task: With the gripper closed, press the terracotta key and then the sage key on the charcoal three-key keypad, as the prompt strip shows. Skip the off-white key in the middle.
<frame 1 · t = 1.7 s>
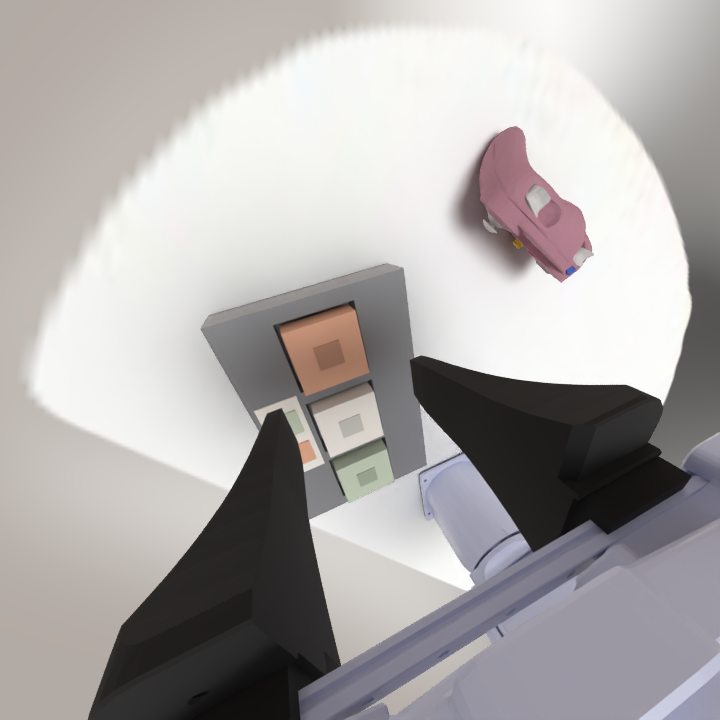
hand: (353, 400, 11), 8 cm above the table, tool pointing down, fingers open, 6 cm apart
sage key: (364, 470, 22), point 3 cm above the table, slide at 0.0 cm
terracotta key: (327, 350, 16), point 3 cm above the table, slide at 0.0 cm
white key: (348, 419, 19), point 3 cm above the table, slide at 0.0 cm
keypad: (339, 399, 22), on the table
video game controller: (505, 215, 20), on the table
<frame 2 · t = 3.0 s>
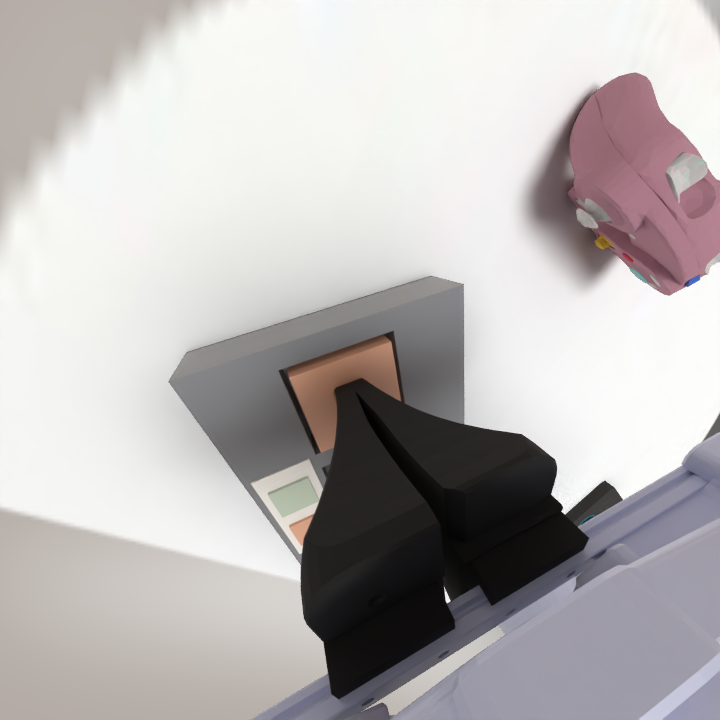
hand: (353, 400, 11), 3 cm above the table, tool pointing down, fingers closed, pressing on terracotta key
terracotta key: (349, 392, 12), point 2 cm above the table, slide at 0.7 cm, touching gripper
white key: (377, 481, 14), point 3 cm above the table, slide at 0.0 cm
keypad: (361, 446, 17), on the table
smart home device: (552, 529, 38), on the table
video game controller: (585, 206, 15), on the table
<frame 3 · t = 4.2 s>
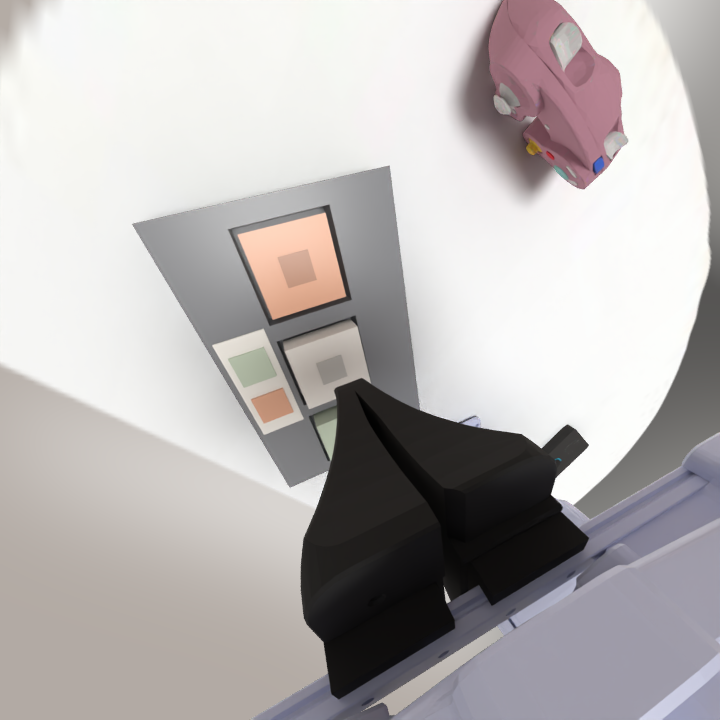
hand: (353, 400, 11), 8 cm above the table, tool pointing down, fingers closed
sage key: (350, 429, 19), point 3 cm above the table, slide at 0.0 cm
terracotta key: (296, 267, 14), point 2 cm above the table, slide at 1.0 cm, touching keypad
white key: (329, 364, 16), point 3 cm above the table, slide at 0.0 cm
keypad: (320, 347, 19), on the table
smart home device: (523, 475, 41), on the table
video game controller: (517, 115, 17), on the table
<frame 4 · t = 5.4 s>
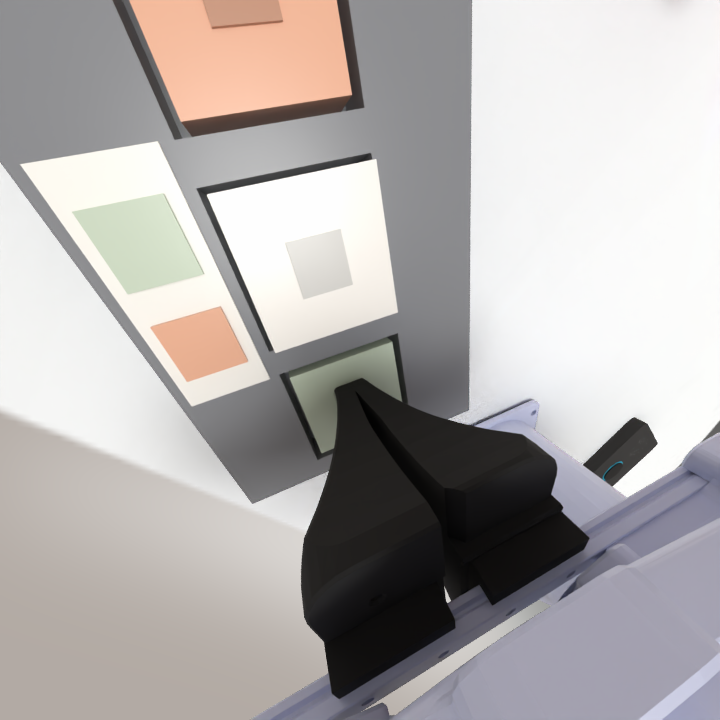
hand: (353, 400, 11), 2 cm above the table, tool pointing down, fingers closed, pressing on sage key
sage key: (350, 392, 12), point 2 cm above the table, slide at 1.0 cm, touching gripper, keypad
white key: (316, 262, 8), point 3 cm above the table, slide at 0.0 cm
keypad: (304, 255, 11), on the table
smart home device: (571, 483, 32), on the table
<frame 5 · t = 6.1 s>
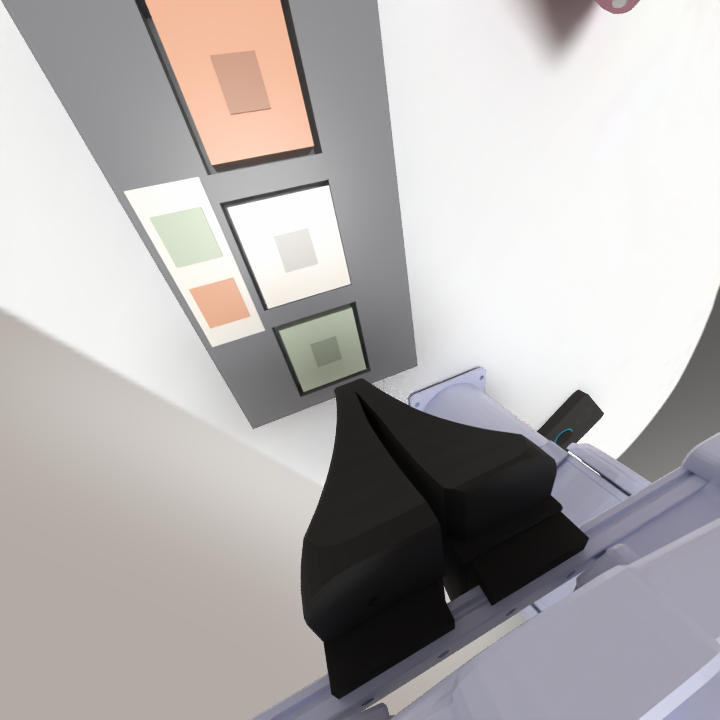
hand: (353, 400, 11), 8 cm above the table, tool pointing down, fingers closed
sage key: (324, 347, 16), point 2 cm above the table, slide at 1.0 cm
terracotta key: (243, 92, 10), point 2 cm above the table, slide at 1.0 cm, touching keypad
white key: (295, 249, 13), point 3 cm above the table, slide at 0.0 cm
keypad: (289, 246, 15), on the table
smart home device: (530, 450, 37), on the table
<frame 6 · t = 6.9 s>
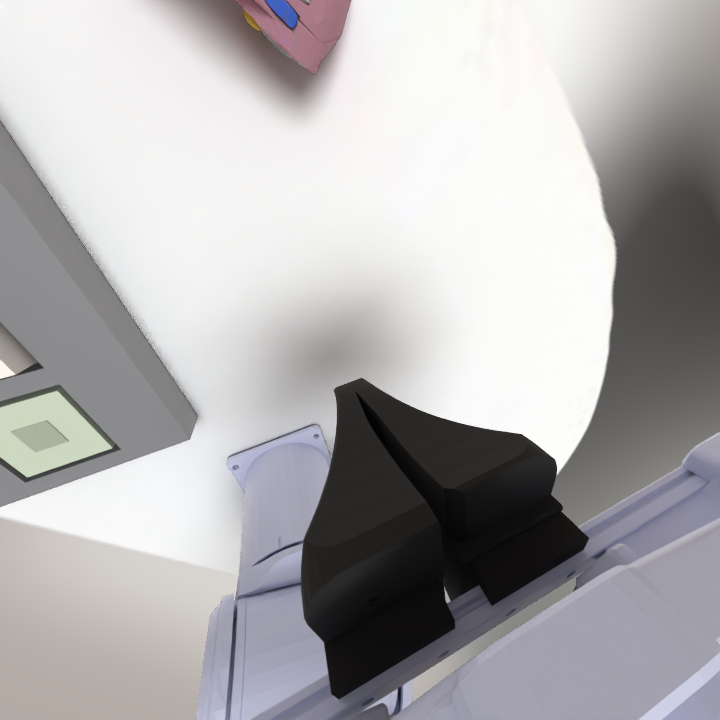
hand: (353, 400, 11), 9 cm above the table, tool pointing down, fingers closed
sage key: (50, 427, 15), point 2 cm above the table, slide at 1.0 cm
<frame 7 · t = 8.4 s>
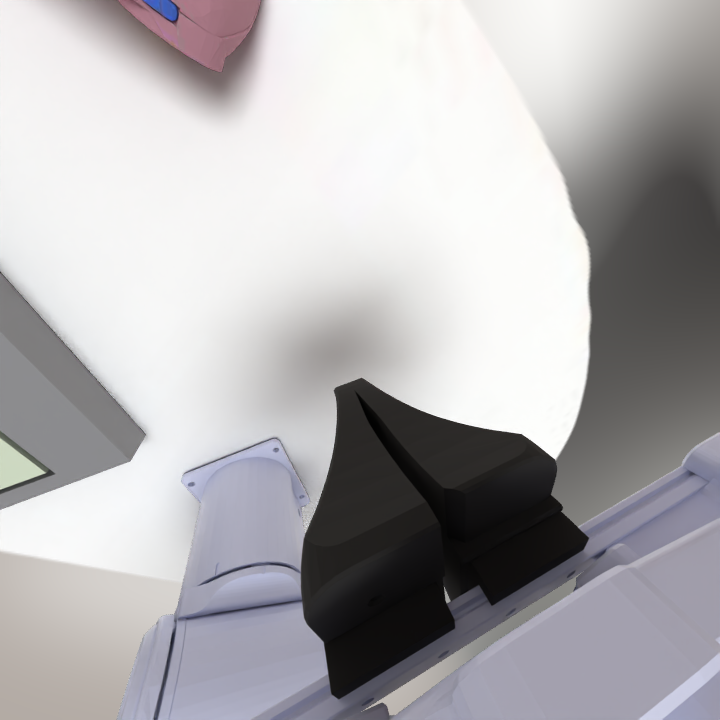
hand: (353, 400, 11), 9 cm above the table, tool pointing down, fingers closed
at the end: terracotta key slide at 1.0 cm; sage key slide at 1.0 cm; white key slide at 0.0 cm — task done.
